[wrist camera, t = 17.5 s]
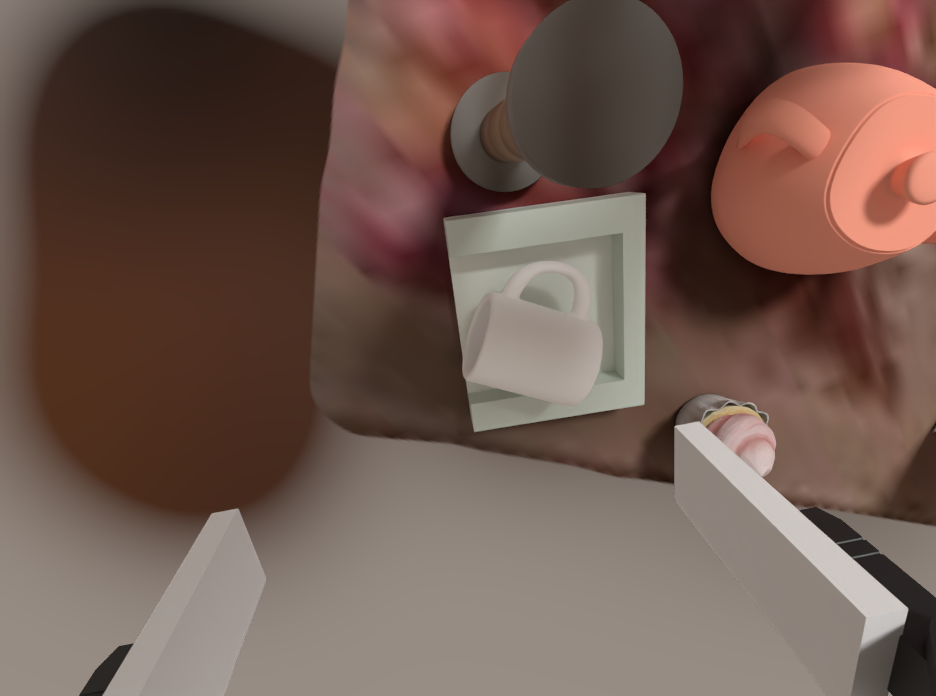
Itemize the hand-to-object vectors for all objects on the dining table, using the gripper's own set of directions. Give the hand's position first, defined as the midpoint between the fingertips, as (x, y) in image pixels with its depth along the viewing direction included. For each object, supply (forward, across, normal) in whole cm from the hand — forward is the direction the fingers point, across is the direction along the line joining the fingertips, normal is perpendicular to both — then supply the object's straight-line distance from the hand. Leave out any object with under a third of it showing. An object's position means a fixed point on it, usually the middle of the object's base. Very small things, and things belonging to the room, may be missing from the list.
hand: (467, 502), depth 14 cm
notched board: (+32, +10, -5) cm, 34 cm away
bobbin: (+32, +8, +11) cm, 35 cm away
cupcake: (+32, +26, -20) cm, 46 cm away
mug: (+31, +8, -5) cm, 33 cm away
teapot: (+32, +35, +3) cm, 48 cm away
